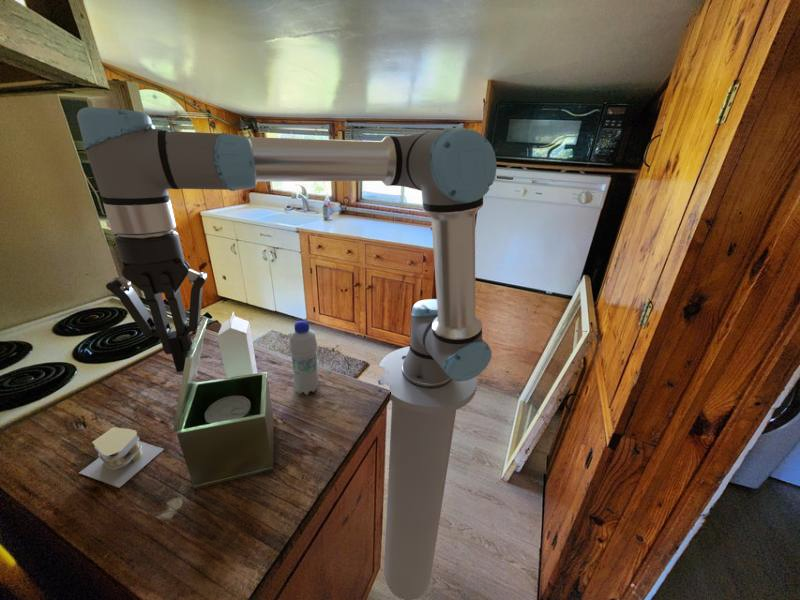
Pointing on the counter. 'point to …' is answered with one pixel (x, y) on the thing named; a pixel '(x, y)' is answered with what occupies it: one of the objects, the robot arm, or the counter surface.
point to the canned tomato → (228, 409)
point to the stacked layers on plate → (119, 456)
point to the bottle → (304, 358)
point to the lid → (190, 373)
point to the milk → (237, 347)
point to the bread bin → (228, 432)
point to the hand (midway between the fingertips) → (183, 366)
